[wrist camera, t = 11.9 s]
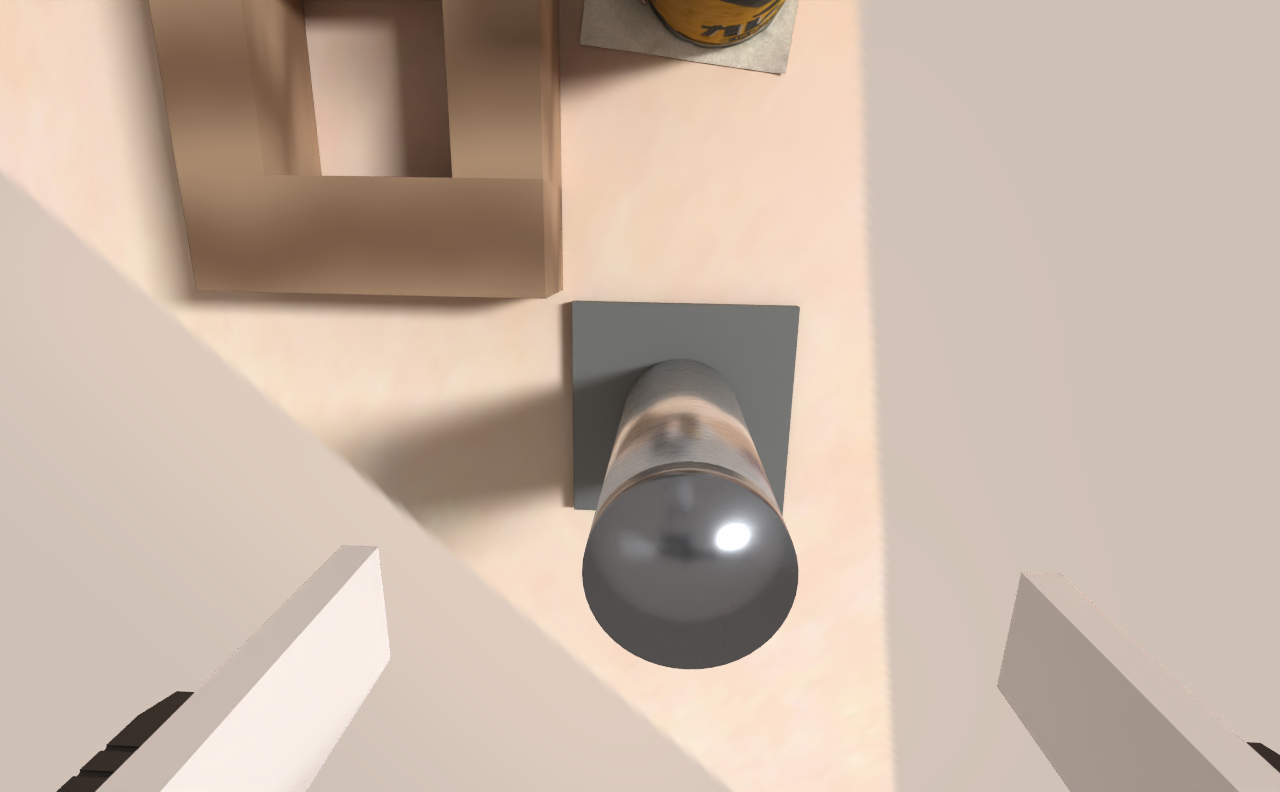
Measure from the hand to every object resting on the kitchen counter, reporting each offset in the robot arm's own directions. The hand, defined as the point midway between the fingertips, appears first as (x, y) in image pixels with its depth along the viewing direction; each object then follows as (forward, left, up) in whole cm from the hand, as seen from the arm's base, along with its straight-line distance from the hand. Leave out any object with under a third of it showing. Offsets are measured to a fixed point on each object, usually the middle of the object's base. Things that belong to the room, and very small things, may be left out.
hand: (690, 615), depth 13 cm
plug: (0, 0, -16) cm, 16 cm away
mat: (0, 0, -17) cm, 17 cm away
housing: (-13, -12, -17) cm, 25 cm away
